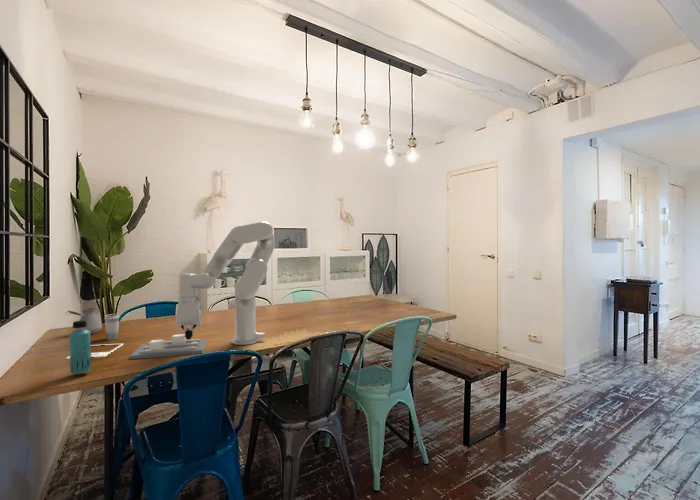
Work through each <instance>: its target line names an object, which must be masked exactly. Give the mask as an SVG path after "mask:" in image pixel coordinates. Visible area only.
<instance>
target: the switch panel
mask: <svg viewBox="0 0 700 500" xmlns="http://www.w3.org/2000/svg"><path fill="white" fill-rule="evenodd" d="M185 341H186V343H185V344H172V340H165V348H164V349H158V350H150V347H149V343H150V342H151V341H150V342H147V343H142V344H141V345H140V346H139V347H138V348H136V349H135V351H133V352H132V353H131V354H130V355H129V359H130V360H136V359H137V360H140V359H150V358H161V357H175V356H174V355H177V356H185V355H184V354H190V355H200V354H199V353H202V354H203V352H204V351H205V348H206V346H207V343H208V339H200V338H194V339H193V338H191V339H190V340H189V339H188V340H186V339H185ZM193 353H194V354H193Z"/></svg>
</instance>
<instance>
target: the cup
mask: <svg viewBox="0 0 700 500" xmlns="http://www.w3.org/2000/svg"><path fill="white" fill-rule="evenodd" d="M119 318H120V315H119V313H110V314H105V315H104V317H103V320H104V327H105V328H104V329H105V336H106V340H107V341H113V340H117V339H118V337H119V327H120V326H119V323H120V322H119V321H120V320H119Z"/></svg>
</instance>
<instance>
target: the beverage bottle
mask: <svg viewBox="0 0 700 500" xmlns="http://www.w3.org/2000/svg"><path fill="white" fill-rule="evenodd" d="M86 326H87V323H86V321H85V320H82V321H80V320H76V321H73V322H72V328H73V331H71V332H70V333H69V334H68V335H69V336H68V337H69V356H70V359H69V371H70V374H71V375H72V374H73V375H76V374H84V373H87V372H89V371H91V369H92V358H91V353H92V352H91V351H92V346H91V345H92V340H91V334H90V331H89V330H87V329H78V330H76V328H82V327H86ZM74 329H75V330H74Z"/></svg>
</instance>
